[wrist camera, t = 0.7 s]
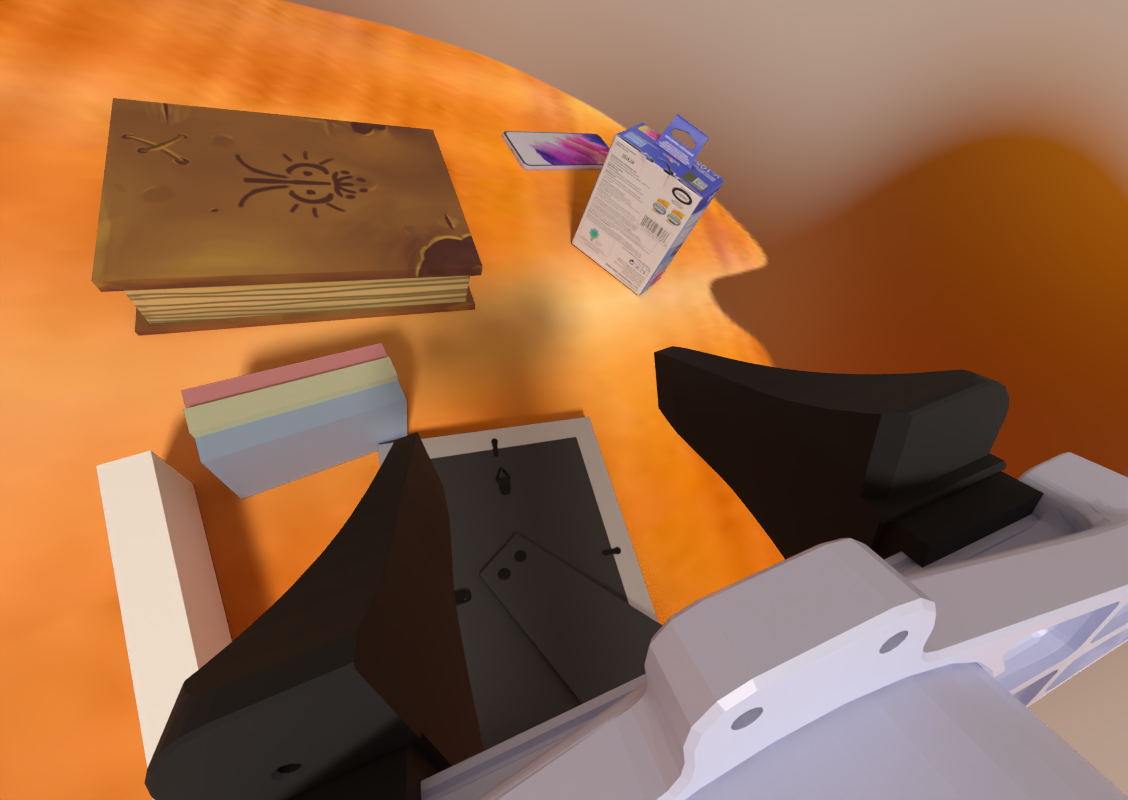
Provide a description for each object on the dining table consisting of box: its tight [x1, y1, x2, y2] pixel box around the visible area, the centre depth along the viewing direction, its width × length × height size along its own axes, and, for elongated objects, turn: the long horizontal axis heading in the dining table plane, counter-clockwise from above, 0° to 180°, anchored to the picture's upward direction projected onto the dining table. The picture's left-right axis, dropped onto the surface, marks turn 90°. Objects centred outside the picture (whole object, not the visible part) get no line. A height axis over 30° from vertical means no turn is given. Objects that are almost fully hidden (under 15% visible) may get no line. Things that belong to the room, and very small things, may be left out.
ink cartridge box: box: [572, 114, 724, 295], centre depth 42 cm, size 10×6×14 cm, turn 53°
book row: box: [181, 343, 407, 499], centre depth 26 cm, size 4×10×7 cm, turn 120°
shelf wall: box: [96, 451, 232, 800], centre depth 18 cm, size 28×2×5 cm, turn 31°
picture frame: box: [378, 417, 663, 751], centre depth 28 cm, size 16×3×21 cm
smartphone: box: [502, 131, 610, 170], centre depth 55 cm, size 7×1×15 cm
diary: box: [92, 98, 482, 335], centre depth 35 cm, size 23×19×6 cm
